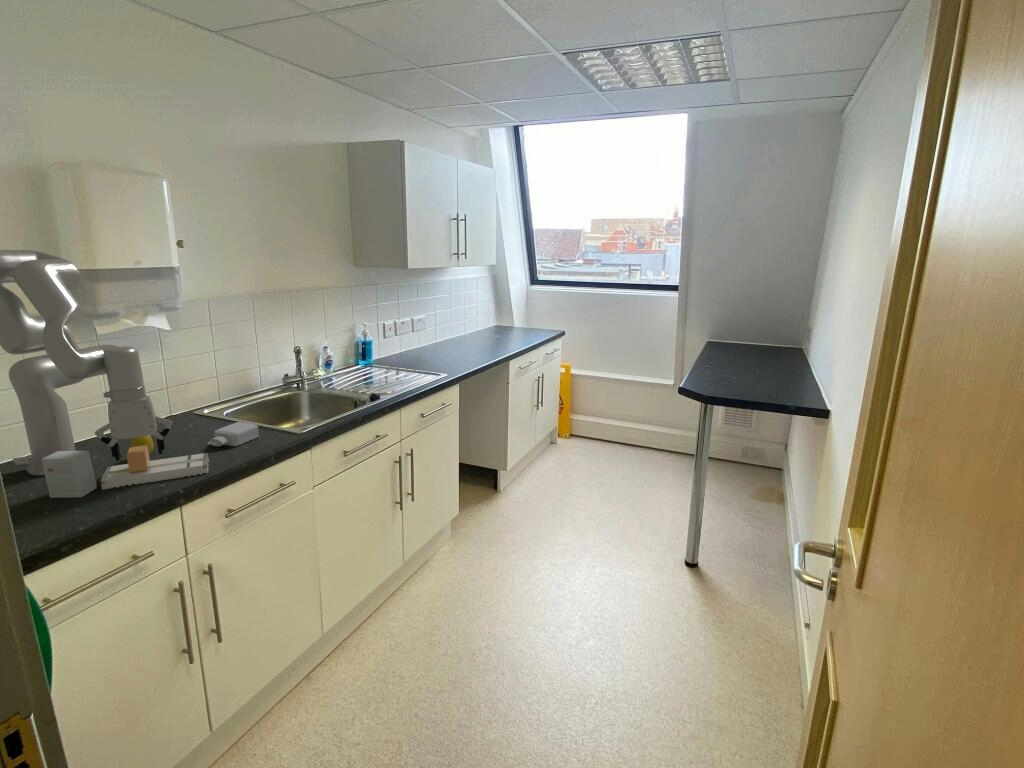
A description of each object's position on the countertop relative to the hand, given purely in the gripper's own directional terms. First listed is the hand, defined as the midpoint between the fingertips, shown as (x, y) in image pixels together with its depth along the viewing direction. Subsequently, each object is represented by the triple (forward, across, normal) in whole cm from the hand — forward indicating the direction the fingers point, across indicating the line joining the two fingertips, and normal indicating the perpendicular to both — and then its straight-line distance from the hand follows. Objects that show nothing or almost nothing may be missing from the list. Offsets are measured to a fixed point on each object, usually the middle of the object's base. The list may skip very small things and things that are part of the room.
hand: (140, 455), depth 148 cm
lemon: (+6, -2, +16) cm, 18 cm away
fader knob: (+5, -1, 0) cm, 5 cm away
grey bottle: (+7, +21, +19) cm, 29 cm away
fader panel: (+6, +3, 0) cm, 7 cm away
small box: (+6, -15, -4) cm, 16 cm away
